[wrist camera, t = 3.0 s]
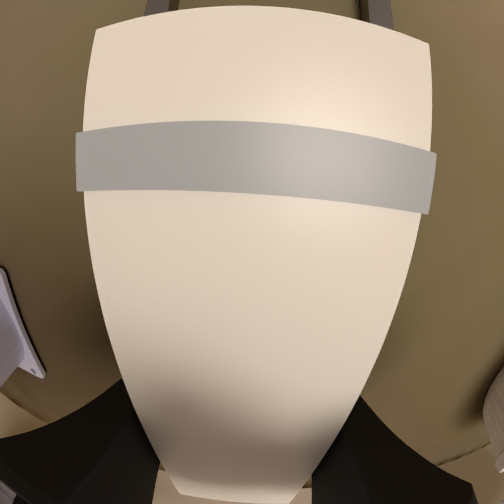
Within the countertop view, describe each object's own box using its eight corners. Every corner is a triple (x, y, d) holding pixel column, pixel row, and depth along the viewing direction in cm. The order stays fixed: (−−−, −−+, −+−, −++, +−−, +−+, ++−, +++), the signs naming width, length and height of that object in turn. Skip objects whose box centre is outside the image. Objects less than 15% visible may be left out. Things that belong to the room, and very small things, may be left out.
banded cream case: (197, 410, 12) (178, 495, 7) (186, 88, 7) (89, 28, 2) (287, 418, 12) (290, 505, 7) (341, 97, 7) (435, 43, 2)
